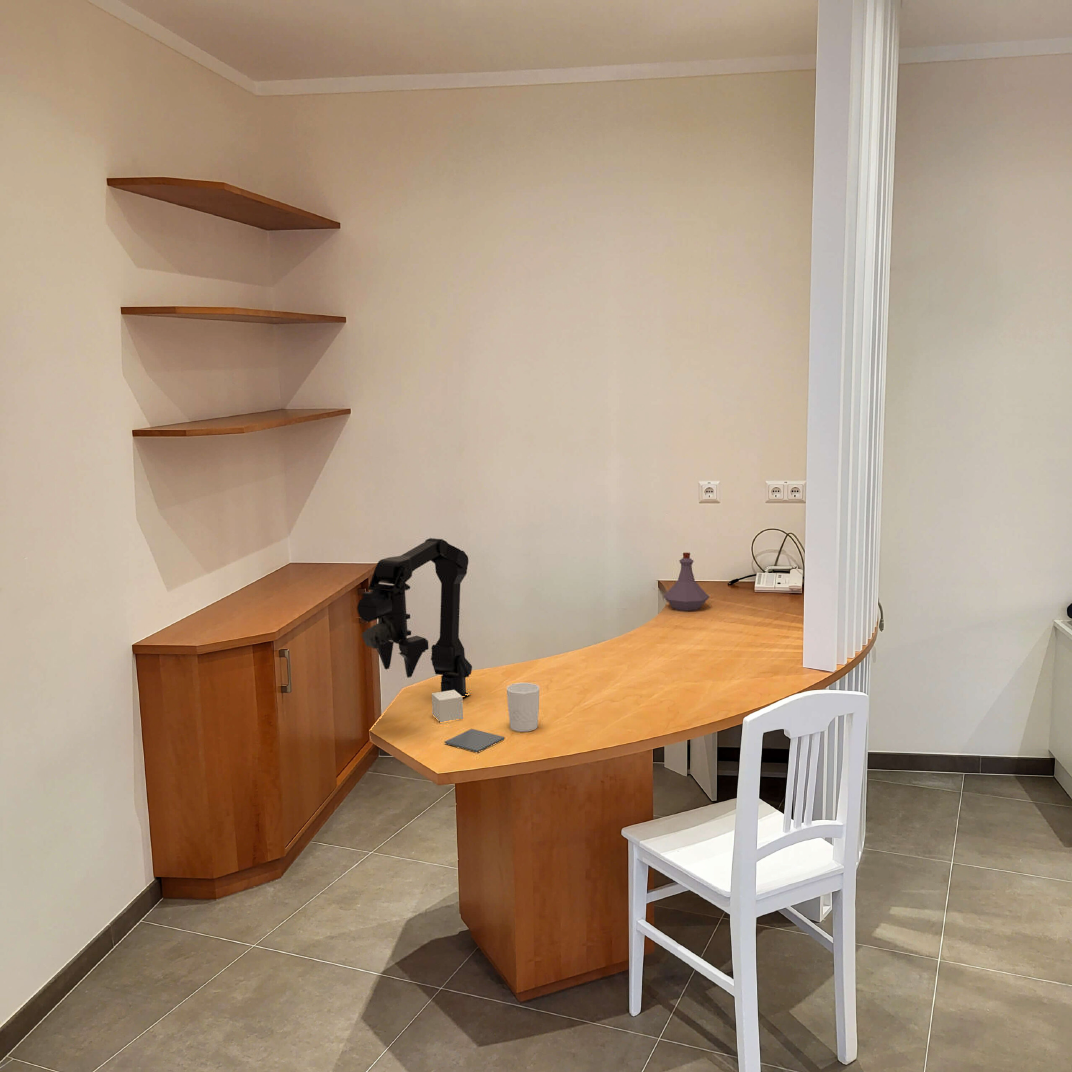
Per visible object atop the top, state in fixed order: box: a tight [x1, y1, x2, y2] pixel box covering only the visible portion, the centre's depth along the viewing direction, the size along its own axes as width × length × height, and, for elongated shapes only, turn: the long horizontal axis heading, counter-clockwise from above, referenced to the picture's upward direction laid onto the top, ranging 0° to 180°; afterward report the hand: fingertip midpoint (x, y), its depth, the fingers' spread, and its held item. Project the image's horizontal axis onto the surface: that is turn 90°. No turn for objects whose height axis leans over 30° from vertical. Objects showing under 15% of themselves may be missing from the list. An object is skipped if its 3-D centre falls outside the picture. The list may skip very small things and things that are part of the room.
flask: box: [662, 552, 710, 612], centre depth 353 cm, size 16×16×20 cm
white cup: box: [506, 682, 540, 733], centre depth 240 cm, size 8×8×10 cm
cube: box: [431, 690, 464, 722], centre depth 248 cm, size 6×6×6 cm
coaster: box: [443, 728, 506, 754], centre depth 232 cm, size 10×10×1 cm
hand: (398, 673), depth 241 cm, fingers open, 9 cm apart
